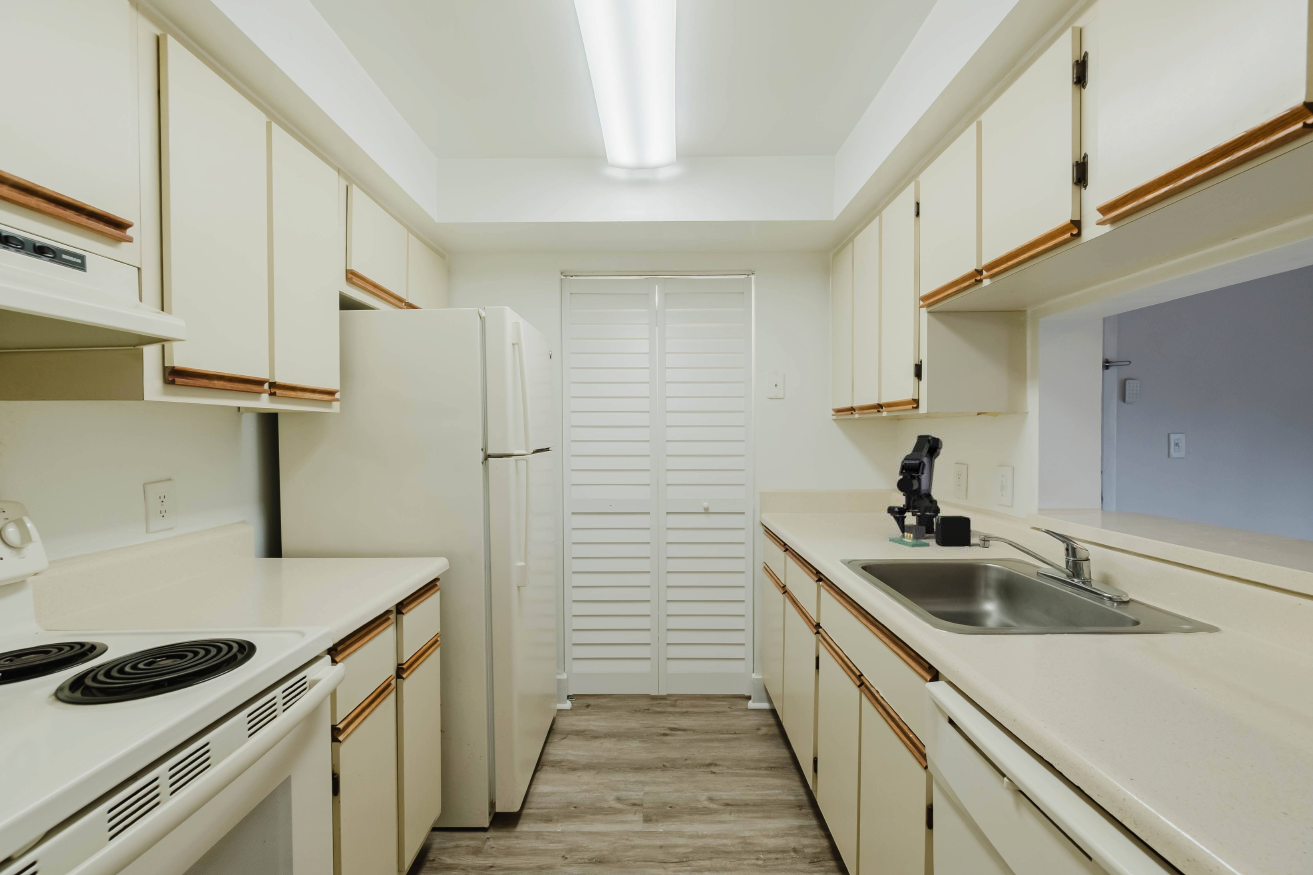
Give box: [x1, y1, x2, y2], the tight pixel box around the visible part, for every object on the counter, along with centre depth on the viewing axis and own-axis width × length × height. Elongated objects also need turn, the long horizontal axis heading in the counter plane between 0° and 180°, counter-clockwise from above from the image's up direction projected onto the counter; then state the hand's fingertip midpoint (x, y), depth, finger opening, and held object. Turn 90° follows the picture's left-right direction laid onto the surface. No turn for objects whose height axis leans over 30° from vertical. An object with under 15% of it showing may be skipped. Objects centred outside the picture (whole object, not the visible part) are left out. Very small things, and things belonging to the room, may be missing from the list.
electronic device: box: [934, 515, 972, 548], centre depth 185 cm, size 4×10×10 cm, turn 89°
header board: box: [888, 533, 930, 548], centre depth 190 cm, size 12×7×4 cm, turn 12°
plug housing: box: [901, 523, 927, 541], centre depth 200 cm, size 7×4×4 cm, turn 12°
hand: (913, 532), depth 200 cm, fingers open, 9 cm apart
